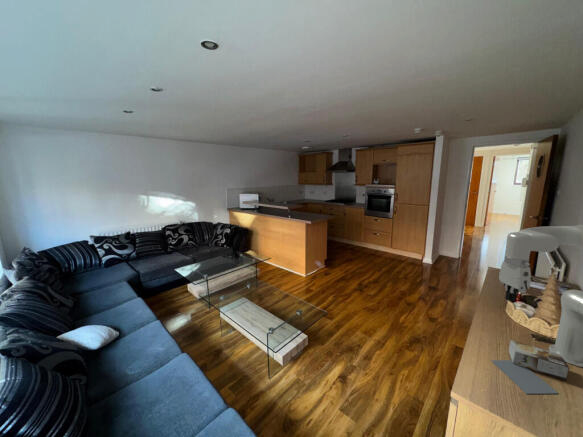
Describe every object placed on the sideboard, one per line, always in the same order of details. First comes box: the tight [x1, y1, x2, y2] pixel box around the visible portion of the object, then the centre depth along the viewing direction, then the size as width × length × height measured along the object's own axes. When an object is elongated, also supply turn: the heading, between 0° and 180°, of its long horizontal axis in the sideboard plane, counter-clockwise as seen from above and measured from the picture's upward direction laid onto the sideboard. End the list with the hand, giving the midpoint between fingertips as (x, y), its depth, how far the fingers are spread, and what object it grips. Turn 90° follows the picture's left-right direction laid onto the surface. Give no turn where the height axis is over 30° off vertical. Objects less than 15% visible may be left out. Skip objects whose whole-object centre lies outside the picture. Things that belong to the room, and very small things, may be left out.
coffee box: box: [508, 339, 570, 381], centre depth 100 cm, size 9×6×16 cm
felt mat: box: [490, 359, 559, 395], centre depth 95 cm, size 12×16×1 cm
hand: (510, 299), depth 102 cm, fingers closed
